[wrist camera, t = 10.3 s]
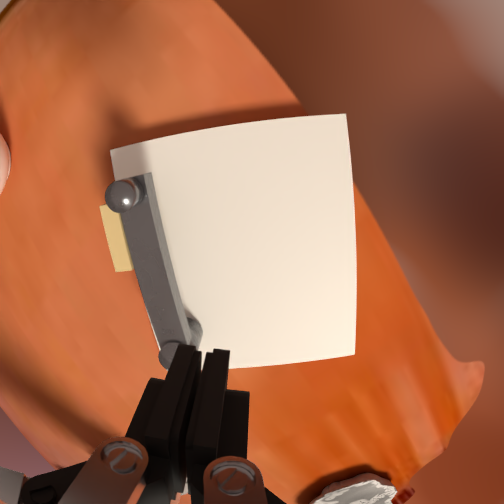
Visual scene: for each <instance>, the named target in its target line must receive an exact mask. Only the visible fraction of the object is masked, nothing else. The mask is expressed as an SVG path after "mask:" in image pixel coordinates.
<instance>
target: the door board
mask: <svg viewBox="0 0 504 504" xmlns="http://www.w3.org/2000/svg"><path fill="white" fill-rule="evenodd" d="M110 154H111V160H112V166H113V171H114V177H115V181H117V180H120V179H124V178H128V177H132V176H136V175H140V174H145V173H149V172H152V177H153V182H154V187H155V192H156V197H157V202H158V206H159V211H160V215H161V220H162V224H163V229H164V233H165V237H166V242H167V246H168V250H169V254H170V258H171V262H172V266H173V270H174V274H175V278H176V281H177V285H178V289H179V293H180V296H181V300H182V304H183V307H184V311H185V314H186V317H188V318H191V319H194V320H195V321H197V322H198V323H199V324H200V325H201V327H202V330H203V336H202V340H201V343H200V346H199V350H198V351H202V365H201V370H202V368H203V364H204V360H205V356H206V352H212V353H213V349H214V348H215V349H223V350H230V359H229V369H231V368H245V367H258V366H269V365H279V364H289V363H298V362H306V361H314V360H321V359H328V358H335V357H342V356H348V355H354V354H355V334H356V233H355V211H354V194H353V180H352V169H351V157H350V147H349V138H348V129H347V121H346V114H333V115H317V116H303V117H292V118H281V119H272V120H263V121H255V122H248V123H240V124H233V125H227V126H220V127H214V128H208V129H203V130H197V131H192V132H186V133H181V134H176V135H171V136H167V137H162V138H157V139H153V140H148V141H144V142H140V143H136V144H132V145H128V146H124V147H120V148H116V149H112V150H110ZM100 211H101V216H102V220H103V224H104V229H105V233H106V237H107V241H108V245H109V249H110V252H111V256H112V260H113V264H114V267H115V271H116V272H121V271H130V270H133V269H134V266H133V262H132V259H131V255H130V251H129V248H128V244H127V240H126V236H125V232H124V228H123V224H122V220H121V216H120V213H116V212H113V211H112V210H111V209H110V208H109V207H108V206H107V204H103V205H101V206H100ZM144 303H145V302H144ZM145 306H146V305H145ZM146 309H147V308H146ZM147 312H148V311H147ZM148 316H149V314H148ZM149 319H150V317H149ZM150 322H151V320H150ZM151 325H152V323H151ZM152 328H153V326H152ZM153 331H154V329H153ZM154 335H155V332H154ZM155 338H156V335H155ZM156 341H157V344H158V347H159V349H160V346H159V343H158V340H157V338H156ZM160 350H161V349H160ZM167 371H168V370H167Z"/></svg>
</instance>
